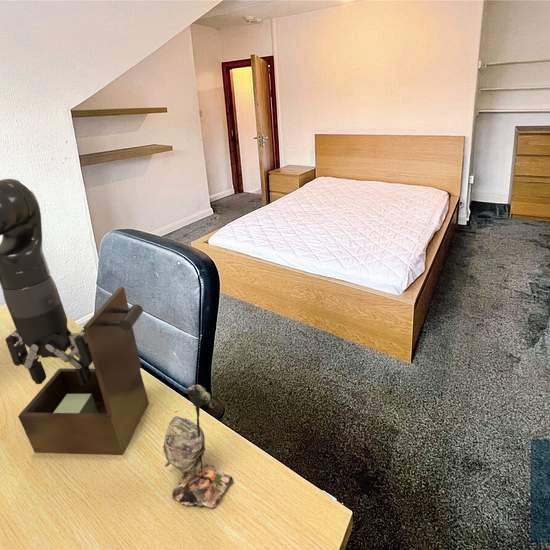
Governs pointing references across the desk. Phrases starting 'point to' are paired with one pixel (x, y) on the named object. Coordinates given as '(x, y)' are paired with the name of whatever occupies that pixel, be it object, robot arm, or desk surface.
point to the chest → (82, 417)
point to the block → (77, 404)
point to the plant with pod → (193, 457)
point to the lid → (114, 347)
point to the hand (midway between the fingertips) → (63, 381)
